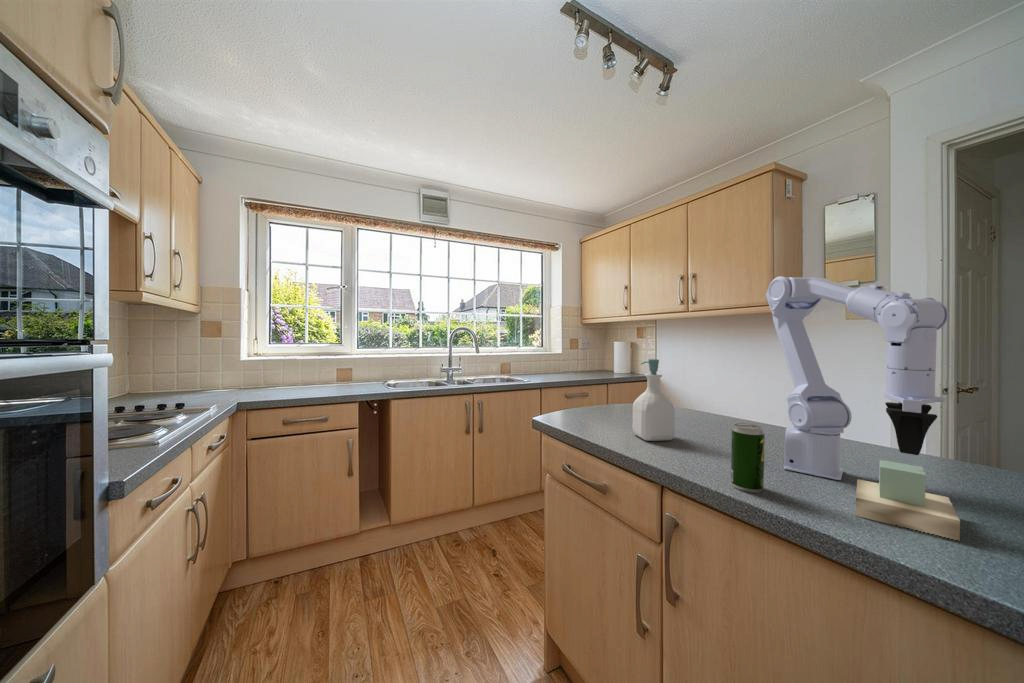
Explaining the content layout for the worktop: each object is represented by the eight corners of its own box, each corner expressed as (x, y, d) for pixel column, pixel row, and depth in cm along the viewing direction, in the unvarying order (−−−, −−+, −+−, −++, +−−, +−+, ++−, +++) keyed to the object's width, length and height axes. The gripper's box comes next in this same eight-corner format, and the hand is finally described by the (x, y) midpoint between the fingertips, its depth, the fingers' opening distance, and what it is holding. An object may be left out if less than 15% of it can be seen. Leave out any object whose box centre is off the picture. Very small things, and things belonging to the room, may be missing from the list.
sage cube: (879, 497, 61) (880, 466, 61) (879, 488, 65) (879, 459, 65) (924, 507, 58) (925, 475, 58) (921, 497, 61) (922, 466, 61)
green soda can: (734, 491, 70) (735, 428, 70) (727, 480, 76) (728, 421, 75) (767, 495, 69) (769, 430, 69) (758, 484, 74) (759, 424, 74)
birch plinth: (855, 515, 61) (855, 497, 61) (857, 495, 69) (857, 479, 69) (959, 541, 53) (960, 520, 53) (947, 515, 61) (948, 497, 61)
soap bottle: (629, 433, 112) (630, 357, 111) (660, 433, 113) (661, 357, 112) (644, 442, 102) (645, 360, 102) (677, 442, 103) (678, 360, 103)
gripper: (952, 374, 55) (949, 464, 56) (940, 368, 66) (938, 444, 66) (885, 370, 60) (883, 453, 61) (884, 365, 71) (882, 436, 71)
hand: (907, 448), depth 64 cm, fingers open, 7 cm apart
